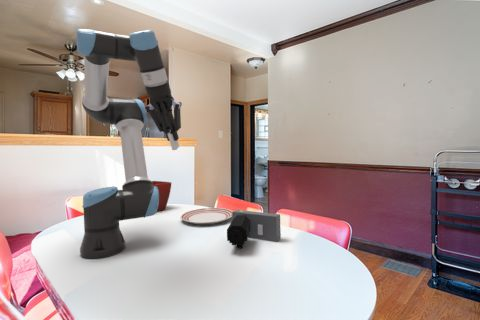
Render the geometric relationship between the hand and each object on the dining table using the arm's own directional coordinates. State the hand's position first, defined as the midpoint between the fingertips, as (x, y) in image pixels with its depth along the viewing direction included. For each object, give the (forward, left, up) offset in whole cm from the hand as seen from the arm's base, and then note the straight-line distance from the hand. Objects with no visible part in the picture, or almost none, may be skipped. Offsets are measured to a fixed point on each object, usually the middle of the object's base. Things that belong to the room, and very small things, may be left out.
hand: (175, 148), depth 100 cm
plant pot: (+42, +61, -38) cm, 83 cm away
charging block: (+25, -19, -38) cm, 49 cm away
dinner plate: (+39, +16, -38) cm, 57 cm away
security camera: (+14, -18, -38) cm, 44 cm away
